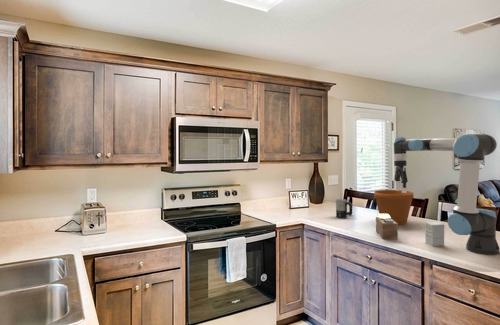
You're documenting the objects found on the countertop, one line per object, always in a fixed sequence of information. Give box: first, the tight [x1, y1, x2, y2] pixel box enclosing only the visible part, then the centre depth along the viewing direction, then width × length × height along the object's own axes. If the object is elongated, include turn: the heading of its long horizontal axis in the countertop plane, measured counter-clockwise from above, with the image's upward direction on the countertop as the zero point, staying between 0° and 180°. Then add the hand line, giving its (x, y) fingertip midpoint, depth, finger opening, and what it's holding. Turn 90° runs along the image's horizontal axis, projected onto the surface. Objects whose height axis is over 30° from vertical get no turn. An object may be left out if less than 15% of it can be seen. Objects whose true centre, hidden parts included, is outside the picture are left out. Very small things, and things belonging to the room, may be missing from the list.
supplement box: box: [424, 221, 445, 247], centre depth 191 cm, size 7×7×13 cm
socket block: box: [375, 216, 399, 240], centre depth 214 cm, size 19×9×10 cm, turn 171°
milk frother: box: [335, 198, 353, 219], centre depth 274 cm, size 14×16×15 cm
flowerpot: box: [373, 189, 415, 226], centre depth 250 cm, size 28×28×24 cm
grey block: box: [384, 218, 393, 223], centre depth 208 cm, size 7×4×11 cm, turn 171°
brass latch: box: [377, 213, 391, 219], centre depth 218 cm, size 1×7×8 cm
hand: (401, 191), depth 215 cm, fingers open, 13 cm apart
